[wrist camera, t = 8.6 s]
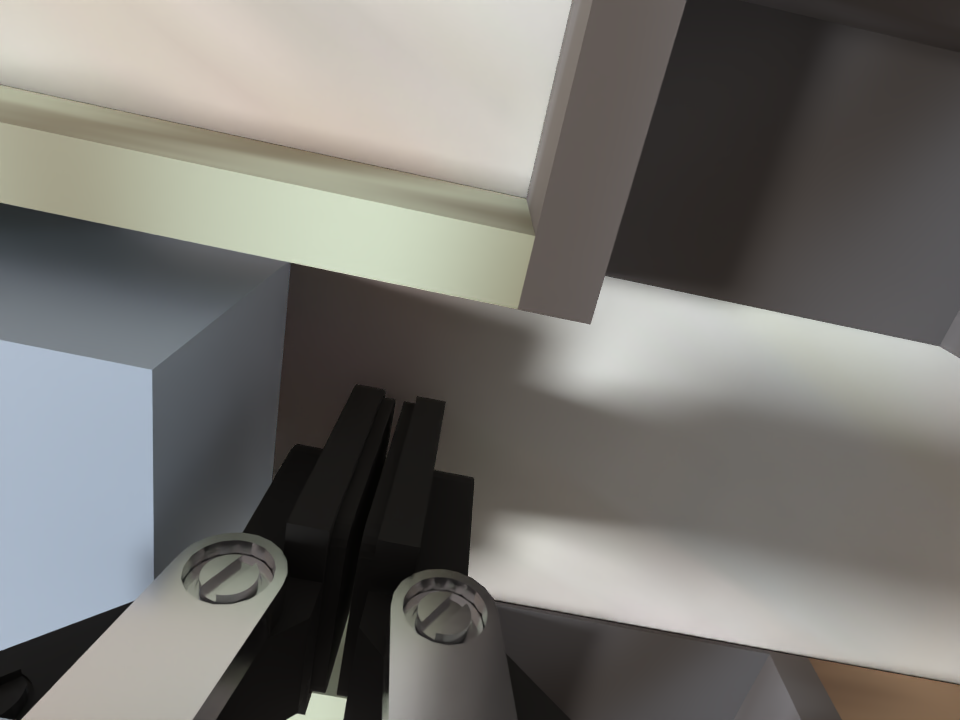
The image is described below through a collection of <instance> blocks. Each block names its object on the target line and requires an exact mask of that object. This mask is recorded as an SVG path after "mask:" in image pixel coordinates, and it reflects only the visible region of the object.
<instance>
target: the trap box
mask: <svg viewBox="0 0 960 720" xmlns="http://www.w3.org/2000/svg"><path fill="white" fill-rule="evenodd" d="M0 203H5V204H9V205H14V206H19V207H24V208H29V209H34V210H39V211H43V212H48V213H53V214H58V215H63V216H68V217H72V218H77V219H82V220H87V221H92V222H97V223H102V224H106V225H111V226H116V227H121V228H126V229H131V230H135V231H140V232H145V233H150V234H155V235H160V236H164V237H169V238H174V239H179V240H184V241H189V242H194V243H198V244H203V245H208V246H213V247H218V248H223V249H227V250H232V251H237V252H242V253H247V254H252V255H257V256H261V257H266V258H271V259H276V260H281V261H286V262H290V263H295V264H300V265H305V266H310V267H315V268H319V269H324V270H329V271H334V272H339V273H344V274H349V275H353V276H358V277H363V278H368V279H373V280H378V281H382V282H387V283H392V284H397V285H402V286H407V287H412V288H416V289H421V290H426V291H431V292H436V293H441V294H445V295H450V296H455V297H460V298H465V299H470V300H474V301H479V302H484V303H489V304H494V305H499V306H504V307H508V308H513V309H518V310H523V311H528V312H533V313H537V314H542V315H547V316H552V317H557V318H562V319H567V320H571V321H576V322H581V323H586V324H591V320H592V317H593V314H594V310H595V307H596V304H597V300H598V297H599V294H600V290H601V287H602V283H603V280H604V277H605V276H609V277H614V278H619V279H623V280H628V281H633V282H638V283H642V284H647V285H652V286H657V287H661V288H666V289H671V290H675V291H680V292H685V293H690V294H694V295H699V296H704V297H709V298H713V299H718V300H723V301H728V302H732V303H737V304H742V305H747V306H751V307H756V308H761V309H766V310H770V311H775V312H780V313H784V314H789V315H794V316H799V317H803V318H808V319H813V320H818V321H822V322H827V323H832V324H837V325H841V326H846V327H851V328H856V329H860V330H865V331H870V332H874V333H879V334H884V335H889V336H893V337H898V338H903V339H908V340H912V341H917V342H922V343H927V344H931V345H936V346H940V347H942V348H943V349H945V350H947V351H949V352H950V353H952V354H954V355H955V356H957V357H959V358H960V0H572V4H571V8H570V12H569V17H568V21H567V25H566V30H565V34H564V38H563V43H562V47H561V51H560V56H559V60H558V64H557V68H556V73H555V77H554V81H553V86H552V90H551V94H550V99H549V103H548V107H547V112H546V116H545V120H544V125H543V129H542V133H541V138H540V142H539V146H538V151H537V155H536V159H535V163H534V168H533V172H532V176H531V181H530V185H529V189H528V194H527V198H526V199H525V198H521V197H516V196H511V195H507V194H502V193H497V192H493V191H488V190H484V189H479V188H474V187H470V186H465V185H460V184H456V183H451V182H447V181H442V180H437V179H433V178H428V177H423V176H419V175H414V174H410V173H405V172H400V171H396V170H391V169H386V168H382V167H377V166H373V165H368V164H363V163H359V162H354V161H349V160H345V159H340V158H336V157H331V156H326V155H322V154H317V153H312V152H308V151H303V150H299V149H294V148H289V147H285V146H280V145H275V144H271V143H266V142H262V141H257V140H252V139H248V138H243V137H239V136H234V135H229V134H225V133H220V132H215V131H211V130H206V129H202V128H197V127H192V126H188V125H183V124H178V123H174V122H169V121H165V120H160V119H155V118H151V117H146V116H141V115H137V114H132V113H128V112H123V111H118V110H114V109H109V108H104V107H100V106H95V105H91V104H86V103H81V102H77V101H72V100H67V99H63V98H58V97H54V96H49V95H44V94H40V93H35V92H30V91H26V90H21V89H17V88H12V87H7V86H3V85H0ZM495 604H496V607H497V610H498V613H499V618H500V624H501V629H502V635H503V641H504V646H505V652H506V654H507V655H508V656H509V657H510V658H511V659H512V660H513V661H514V662H515V663H516V664H517V665H518V666H519V667H520V668H521V669H522V670H523V671H524V672H525V673H526V674H527V675H528V676H529V677H530V678H531V679H532V681H533V682H534V683H535V684H536V685H537V686H538V687H539V688H540V689H541V690H542V691H543V692H544V693H545V694H546V695H547V696H548V697H549V698H550V699H551V700H552V701H553V702H554V703H555V704H556V705H557V706H558V707H559V708H560V709H561V710H562V711H563V712H564V713H565V714H566V715H567V716H568V717H569V718H570V719H571V720H960V685H956V684H951V683H945V682H939V681H934V680H928V679H923V678H917V677H912V676H906V675H901V674H895V673H890V672H884V671H879V670H873V669H867V668H862V667H856V666H851V665H845V664H840V663H834V662H829V661H823V660H818V659H812V658H807V657H801V656H795V655H790V654H784V653H779V652H773V651H768V650H762V649H757V648H751V647H746V646H740V645H734V644H729V643H723V642H718V641H712V640H707V639H701V638H696V637H690V636H685V635H679V634H674V633H668V632H662V631H657V630H651V629H646V628H640V627H635V626H629V625H624V624H618V623H613V622H607V621H602V620H596V619H590V618H585V617H579V616H574V615H568V614H563V613H557V612H552V611H546V610H541V609H535V608H530V607H524V606H518V605H513V604H507V603H502V602H496V601H495ZM349 613H350V612H349ZM348 619H349V615H348ZM348 619H347V622H346V626H345V629H344V632H343V636H342V639H341V643H340V646H339V650H338V653H337V656H336V660H335V663H334V667H333V670H332V674H331V677H330V680H329V684H328V687H327V690H326V692H325V693H321V692H315V691H312V694H311V698H310V701H309V704H308V707H307V710H306V714H305V715H302V714H295V715H294V716H292V717H290V718H289V719H287V720H343V719H344V713H345V707H346V701H347V697H345V696H339V695H337V688H338V681H339V675H340V669H341V663H342V656H343V650H344V644H345V638H346V631H347V625H348Z"/></svg>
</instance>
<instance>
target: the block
mask: <svg viewBox="0 0 960 720" xmlns="http://www.w3.org/2000/svg"><path fill="white" fill-rule="evenodd" d="M290 267H291V263H290V262H286V261H281V260H276V259H271V258H266V257H261V256H257V255H252V254H247V253H242V252H237V251H232V250H227V249H223V248H218V247H213V246H208V245H203V244H198V243H194V242H189V241H184V240H179V239H174V238H169V237H164V236H160V235H155V234H150V233H145V232H140V231H135V230H131V229H126V228H121V227H116V226H111V225H106V224H102V223H97V222H92V221H87V220H82V219H77V218H72V217H68V216H63V215H58V214H53V213H48V212H43V211H39V210H34V209H29V208H24V207H19V206H14V205H9V204H5V203H0V651H1V650H4V649H7V648H9V647H12V646H15V645H17V644H20V643H23V642H25V641H28V640H31V639H33V638H36V637H39V636H41V635H44V634H47V633H49V632H52V631H55V630H57V629H60V628H63V627H65V626H68V625H71V624H73V623H76V622H79V621H81V620H84V619H87V618H89V617H92V616H95V615H97V614H100V613H103V612H105V611H108V610H111V609H113V608H116V607H119V606H121V605H124V604H127V603H129V602H132V601H135V600H136V599H137V598H138V597H139V596H140V594H141V593H142V592H143V591H144V590H145V589H146V588H147V587H148V586H149V585H150V584H151V583H152V582H153V581H154V580H155V579H156V578H157V577H158V576H159V575H160V574H161V572H162V571H163V570H164V569H165V568H166V567H167V566H168V565H169V564H170V563H171V562H172V561H173V560H174V559H175V558H176V557H177V556H178V555H179V554H180V553H181V552H183V551H184V550H185V549H186V548H188V547H189V546H190V545H191V544H194V543H196V542H198V541H200V540H202V539H204V538H207V537H210V536H214V535H219V534H223V533H242V532H243V531H244V529H245V527H246V526H247V524H248V522H249V520H250V519H251V517H252V515H253V514H254V512H255V510H256V509H257V507H258V505H259V503H260V502H261V500H262V498H263V497H264V495H265V493H266V491H267V490H268V488H269V486H270V485H271V483H272V476H273V464H274V453H275V441H276V429H277V418H278V406H279V394H280V383H281V371H282V360H283V348H284V336H285V325H286V313H287V301H288V290H289V278H290Z"/></svg>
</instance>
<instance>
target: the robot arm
mask: <svg viewBox="0 0 960 720" xmlns="http://www.w3.org/2000/svg"><path fill="white" fill-rule="evenodd" d="M385 394H386V390H384V389H379V388H374V387H369V386H363V385H358V384H356V385H355V386H354V388H353V390H352V392H351V394H350V396H349V399H348V401H347V403H346V405H345V407H344V409H343V411H342V413H341V415H340V417H339V419H338V421H337V423H336V425H335V427H334V429H333V431H332V433H331V435H330V437H329V439H328V441H327V443H326V445H325V447H324V449H321V448H316V447H310V446H305V445H300V444H296V445H294V446H293V448H292V449H291V451H290V452H289V454H288V456H287V457H286V459H285V461H284V463H283V464H282V466H281V468H280V469H279V471H278V473H277V474H276V476H275V478H274V480H273V481H272V483H271V485H270V486H269V488H268V490H267V491H266V493H265V495H264V497H263V498H262V500H261V502H260V503H259V505H258V507H257V509H256V510H255V512H254V514H253V515H252V517H251V519H250V520H249V522H248V524H247V526H246V527H245V529H244V531H243V532H242V533H223V534H219V535H214V536H210V537H207V538H204V539H202V540H200V541H198V542H196V543H194V544H191V545H190V546H189V547H188V548H186V549H185V550H184V551H183V552H181V553H180V554H179V555H178V556H177V557H176V558H175V559H174V560H173V561H172V562H171V563H170V564H169V565H168V566H167V567H166V568H165V569H164V570H163V571H162V572H161V574H160V575H159V576H158V577H157V578H156V579H155V580H154V581H153V582H152V583H151V584H150V585H149V586H148V587H147V588H146V589H145V590H144V591H143V592H142V593H141V594H140V596H139V597H138V598H137V599H136V600H135V601H132V602H129V603H127V604H124V605H121V606H119V607H116V608H113V609H111V610H108V611H105V612H103V613H100V614H97V615H95V616H92V617H89V618H87V619H84V620H81V621H79V622H76V623H73V624H71V625H68V626H65V627H63V628H60V629H57V630H55V631H52V632H49V633H47V634H44V635H41V636H39V637H36V638H33V639H31V640H28V641H25V642H23V643H20V644H17V645H15V646H12V647H9V648H7V649H4V650H1V651H0V720H287V719H289V718H290V717H292V716H294V715H295V714H302V715H305V714H306V710H307V707H308V704H309V701H310V698H311V694H312V691H315V692H321V693H325V692H326V690H327V687H328V684H329V680H330V677H331V674H332V670H333V667H334V663H335V660H336V656H337V653H338V650H339V646H340V643H341V639H342V636H343V632H344V629H345V626H346V622H347V619H348V615H349V619H348V625H347V631H346V638H345V644H344V650H343V656H342V663H341V669H340V675H339V681H338V688H337V695H339V696H345V697H347V701H346V707H345V713H344V719H343V720H571V719H570V718H569V717H568V716H567V715H566V714H565V713H564V712H563V711H562V710H561V709H560V708H559V707H558V706H557V705H556V704H555V703H554V702H553V701H552V700H551V699H550V698H549V697H548V696H547V695H546V694H545V693H544V692H543V691H542V690H541V689H540V688H539V687H538V686H537V685H536V684H535V683H534V682H533V681H532V679H531V678H530V677H529V676H528V675H527V674H526V673H525V672H524V671H523V670H522V669H521V668H520V667H519V666H518V665H517V664H516V663H515V662H514V661H513V660H512V659H511V658H510V657H509V656H508V655H507V654H506V652H505V646H504V641H503V635H502V629H501V624H500V618H499V613H498V610H497V607H496V604H495V601H494V599H493V598H492V596H491V595H490V594H489V593H488V591H487V590H486V589H485V587H483V586H482V585H481V584H479V583H478V582H477V581H475V580H474V579H473V578H471V577H468V565H469V550H470V535H471V521H472V506H473V491H474V478H473V477H468V476H462V475H457V474H452V473H447V472H441V471H436V470H434V465H435V460H436V454H437V448H438V443H439V437H440V432H441V426H442V420H443V415H444V409H445V403H446V402H445V401H440V400H435V399H430V398H424V397H419V396H417V398H416V402H415V403H410V402H405V401H404V403H403V407H402V410H401V413H400V416H399V419H398V423H397V426H396V429H395V432H394V435H393V439H392V442H391V445H390V448H389V451H388V455H387V449H388V443H389V437H390V431H391V425H392V419H393V413H394V407H395V399H390V398H385ZM386 455H387V458H386ZM385 460H386V461H385ZM349 612H350V613H349Z"/></svg>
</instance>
